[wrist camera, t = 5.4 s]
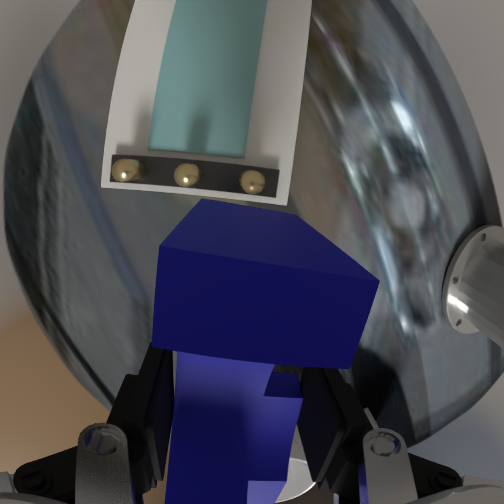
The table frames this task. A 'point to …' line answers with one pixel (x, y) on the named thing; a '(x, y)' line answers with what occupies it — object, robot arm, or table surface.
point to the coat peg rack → (194, 174)
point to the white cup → (296, 472)
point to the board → (210, 87)
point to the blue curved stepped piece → (248, 342)
